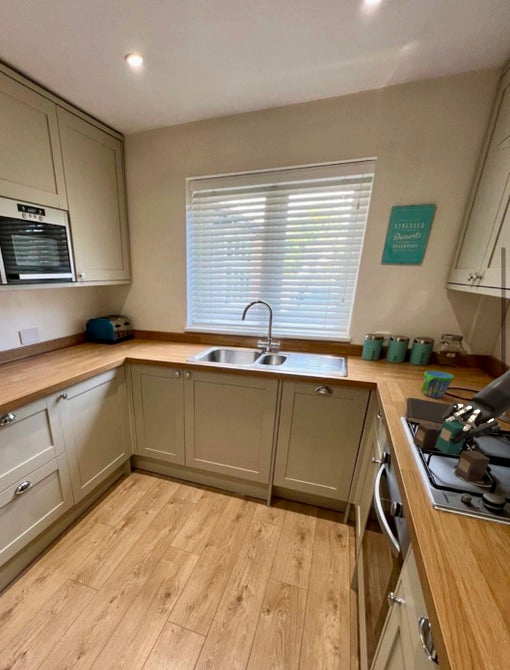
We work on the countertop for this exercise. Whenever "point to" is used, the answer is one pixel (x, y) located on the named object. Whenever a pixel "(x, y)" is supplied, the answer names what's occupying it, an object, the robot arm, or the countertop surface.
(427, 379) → the snack cup
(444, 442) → the teal block
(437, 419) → the hardcover book
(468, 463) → the walnut block
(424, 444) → the walnut block
